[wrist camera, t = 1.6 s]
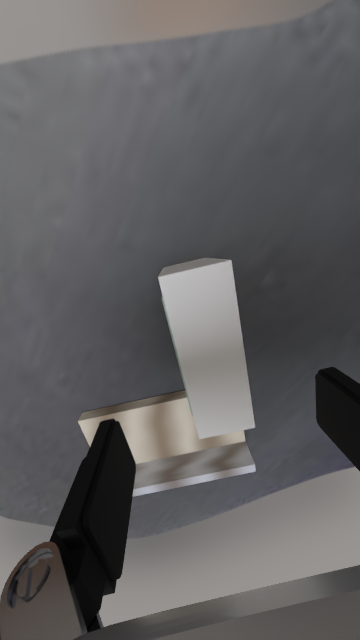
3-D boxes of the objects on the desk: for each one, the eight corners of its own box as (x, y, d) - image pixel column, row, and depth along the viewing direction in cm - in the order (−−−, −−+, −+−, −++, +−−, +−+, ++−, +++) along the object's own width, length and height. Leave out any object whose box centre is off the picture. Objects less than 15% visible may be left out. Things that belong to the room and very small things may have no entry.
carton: (204, 257, 22) (231, 259, 12) (224, 363, 26) (255, 427, 16) (161, 267, 22) (154, 277, 12) (187, 371, 26) (196, 439, 16)
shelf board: (233, 379, 26) (245, 405, 22) (243, 440, 30) (256, 473, 25) (82, 412, 27) (65, 443, 22) (108, 468, 30) (97, 506, 26)
